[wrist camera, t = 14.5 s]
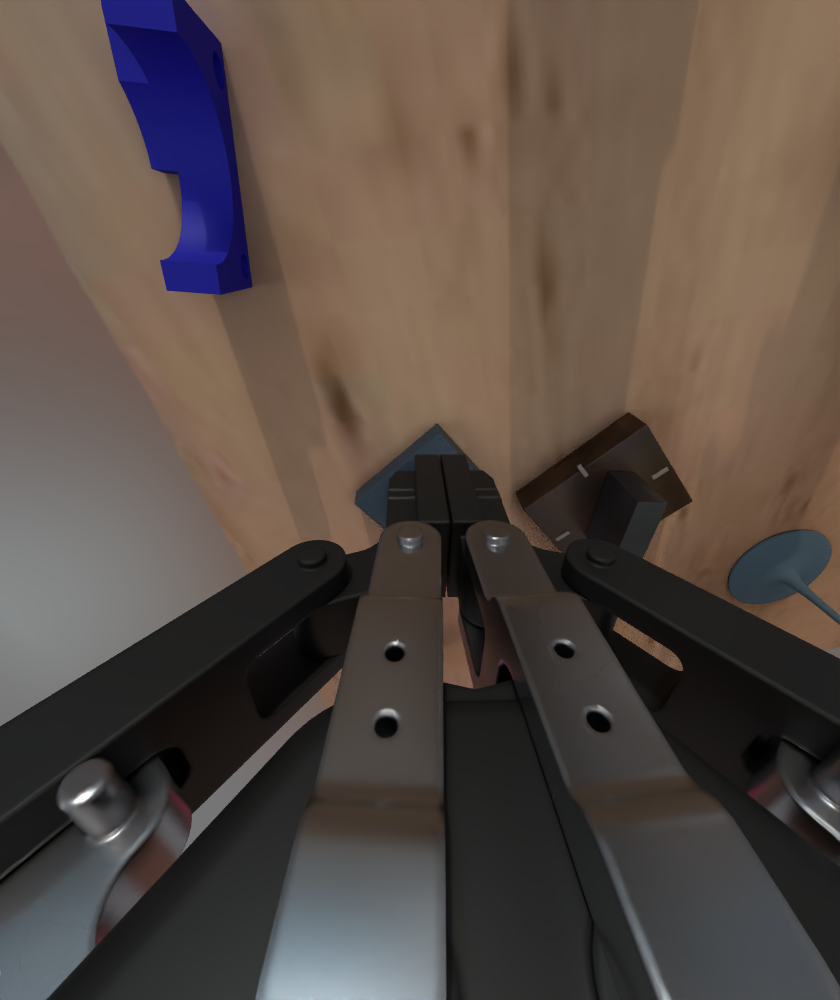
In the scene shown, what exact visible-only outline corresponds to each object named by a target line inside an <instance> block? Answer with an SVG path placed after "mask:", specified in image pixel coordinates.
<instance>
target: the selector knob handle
mask: <svg viewBox="0 0 840 1000" xmlns="http://www.w3.org/2000/svg"><path fill="white" fill-rule="evenodd" d="M667 504H668V502H667V501H666V500H665V499H663V498H662V497H661V496H660V495H659V494H658V493H657V492H656V491H655V490H654V489H653V488H652V487H650V486H649V485H648V484H647V483H646V482H645V481H644V480H643V479H642V478H641V477H640V476H639V475H637V474H636V473H635V472H616V471H609V472H608V474H607V477H606V480H605V483H604V486H603V489H602V491H601V494H600V497H599V500H598V503H597V506H596V508H595V511H594V514H593V517H592V520H591V523H590V525H589V528H588V531H587V534H586V538H587V539H598V540H602V541H606V542H609V543H612V544H614V545H616V546H618V547H620V548H622V549H624V550H626V551H628V552H630V553H632V554H634V555H636V556H638V557H640V558H643V556H644V554H645V552H646V550H647V548H648V545H649V543H650V541H651V539H652V537H653V535H654V532H655V530H656V528H657V526H658V524H659V522H660V519H661V517H662V515H663V513H664V511H665V509H666V506H667Z"/></svg>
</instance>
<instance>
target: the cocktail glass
mask: <svg viewBox="0 0 840 1000" xmlns="http://www.w3.org/2000/svg"><path fill="white" fill-rule="evenodd" d="M830 556H831V545H830V543H829V541H828V540H827V538H826V537H825V536H823V535H821V534H819V533H817V532H814V531H808V530H796V531H789V532H785V533H781V534H778V535H776V536H773V537H771V538H768V539H766V540H764V541H762V542H761V543H759V544H757V545H756V546H754V547H753V548H751V549H750V550H749V551H748V552H746V553H745V554H744V555H743V556H742V557H741V558H740V559H739V560H738V561H737V563H736V564H735V566H734V567H733V569H732V571H731V573H730V576H729V579H728V587H729V590H730V592H731V594H732V595H733V596H734V597H735V598H736V599H738V600H740V601H742V602H745V603H751V604H761V603H768V602H773V601H777V600H780V599H783V598H785V597H788V596H790V595H792V594H794V593H796V592H798V593H800V594H801V595H803V596H804V597H806V598H807V599H808V600H810V601H811V602H812V603H813V604H815V605H816V606H817V607H818V608H820V609H821V610H822V611H823V612H825V613H826V614H827V615H828V616H830V617H831V618H832V619H833V620H834V621H836V622H837V623H838V624H839V625H840V615H839V614H838V613H837V612H835V611H834V610H833V609H832V608H831V607H829V606H828V605H827V604H826V603H825V602H824V601H822V600H821V599H820V598H819V597H818V596H817V595H816V594H815V593H814V592H813V591H812V590H810V589H809V587H808V586H807V585H809V584H810V583H811V582H812V581H813V580H815V579H816V578H817V577H818V576H819V575H820V574H821V572H822V571H823V570H824V568H825V567H826V565H827V563H828V562H829V559H830Z"/></svg>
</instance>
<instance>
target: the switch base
mask: <svg viewBox="0 0 840 1000" xmlns="http://www.w3.org/2000/svg"><path fill="white" fill-rule="evenodd" d="M609 471H616V472H635V473H636V474H637V475H639V476H640V477H641V478H642V479H643V480H644V481H645V482H646V483H647V484H648V485H649V486H650V487H652V488H653V489H654V490H655V491H656V492H657V493H658V494H659V495H660V496H661V497H662V498H663V499H665V500H666V501H667V502H668V504H667V506H666V509H665V511H664V513H663V515H662V517H661V519H660V521H661V520H662V519H664V518H666V517H667V516H669V515H671V514H672V513H674V512H676V511H677V510H679V509H681V508H682V507H684V506H686V505H687V504H689V503H690V502H692V499H691V497H690V495H689V494H688V492H687V490H686V489H685V487H684V485H683V484H682V482H681V480H680V479H679V477H678V475H677V474H676V472H675V471H674V469H673V467H672V466H671V464H670V462H669V461H668V459H667V457H666V456H665V454H664V452H663V451H662V449H661V447H660V446H659V444H658V442H657V441H656V439H655V437H654V436H653V434H652V432H651V431H650V429H649V427H648V426H647V424H645V423H644V422H642V421H641V420H639V419H638V418H637V417H635V416H634V415H632V414H631V413H627V414H626V415H624V416H623V417H621V418H620V419H619V420H617V421H616V422H614V423H613V424H612V425H610V426H609V427H607V428H606V429H605V430H603V431H602V432H600V433H599V434H598V435H596V436H595V437H593V438H592V439H591V440H589V441H588V442H586V443H585V444H584V445H582V446H581V447H579V448H578V449H576V450H575V451H574V452H572V453H571V454H569V455H568V456H567V457H565V458H564V459H562V460H561V461H560V462H558V463H557V464H555V465H554V466H553V467H551V468H550V469H548V470H547V471H546V472H544V473H543V474H541V475H540V476H539V477H537V478H536V479H534V480H533V481H532V482H530V483H529V484H527V485H526V486H524V487H523V488H522V489H520V490H519V491H517V492H516V495H517V497H518V499H519V501H520V503H521V506H522V508H523V510H524V511H525V512H526V513H527V514H528V515H529V516H530V517H531V519H532V520H533V521H534V522H535V523H536V524H537V525H538V526H539V527H540V529H541V530H542V531H543V532H544V533H545V534H546V535H547V536H548V537H549V539H550V540H551V541H552V542H553V543H554V544H555V545H556V546H557V547H558V549H559V550H560V551H561V552H562V553H564V554H565V553H566V549H567V547H568V545H569V544H570V543H572V542H574V541H576V540H579V539H587V538H586V534H587V531H588V528H589V525H590V523H591V520H592V517H593V514H594V511H595V508H596V506H597V503H598V500H599V497H600V494H601V491H602V489H603V486H604V483H605V480H606V477H607V474H608V472H609Z"/></svg>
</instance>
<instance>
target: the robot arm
mask: <svg viewBox="0 0 840 1000" xmlns="http://www.w3.org/2000/svg"><path fill="white" fill-rule="evenodd" d="M446 586H447V595H448V597H458V599H459V616H458V624H459V628H460V633H461V637H462V641H463V645H464V649H465V654H466V658H467V662H468V666H469V671H470V675H471V679H472V683H473V688H474V689H471V688H466V687H462V686H457V685H453V684H448V683H443V599H442V598H441V597H445V592H446ZM617 617H619V618H620V619H622V620H623V621H625V622H627V623H628V624H630V625H631V626H633V627H635V628H636V629H638V630H639V631H641V632H643V633H644V634H646V635H647V636H649V637H651V638H652V639H654V640H655V641H657V642H659V643H660V644H662V645H663V646H665V647H667V648H668V649H670V650H671V651H672V652H673V653H674V654H675V655H676V656H677V657H678V658H679V659H680V661H681V663H682V666H683V671H678V670H675V669H672V668H670V667H669V666H667V665H666V664H664V663H663V662H661V661H659V660H658V659H656V658H655V657H653V656H652V655H650V654H649V653H647V652H646V651H644V650H643V649H641V648H640V647H638V646H637V645H635V644H633V643H632V642H630V641H629V640H627V639H626V638H624V637H623V636H621V635H620V634H618V633H617V632H615V631H614V630H613V627H614V625H615V622H616V620H617ZM292 629H293V630H292ZM291 630H292V631H291ZM290 631H291V632H290ZM287 633H288V634H287ZM286 634H287V635H286ZM285 635H286V636H285ZM283 636H284V637H283ZM282 637H283V638H282ZM281 638H282V639H281ZM278 640H279V641H278ZM277 641H278V642H277ZM276 642H277V643H276ZM275 643H276V644H275ZM273 644H274V645H273ZM272 645H273V646H272ZM271 646H272V647H271ZM268 648H269V649H268ZM267 649H268V650H267ZM266 650H267V651H266ZM264 651H265V652H264ZM263 652H264V653H263ZM262 653H263V654H262ZM258 656H259V657H258ZM257 657H258V658H257ZM342 667H343V668H342ZM341 668H342V673H341V677H340V681H339V685H338V690H337V694H336V698H335V702H334V705H333V706H331V707H329V708H328V709H326V710H324V711H322V712H321V713H319V714H318V715H316V716H315V717H313V718H312V719H311V720H309V721H308V722H307V723H306V724H305V725H303V726H302V727H301V728H300V729H299V730H298V731H296V732H295V733H294V735H292V736H291V737H290V738H289V740H288V741H287V742H286V743H285V744H284V745H283V746H282V747H281V748H280V749H279V750H278V751H277V752H276V754H275V755H274V756H273V757H272V758H271V759H270V760H269V761H268V762H267V763H266V764H265V765H264V766H263V768H262V769H261V770H260V771H259V772H258V773H257V774H256V775H255V776H254V777H253V778H252V779H251V780H250V781H249V783H248V784H247V785H246V786H245V787H244V788H243V789H242V790H241V791H240V792H239V793H238V795H236V797H235V798H234V799H233V800H232V801H231V802H230V803H229V804H228V805H227V806H226V807H225V808H224V809H223V810H222V812H221V813H220V814H219V815H218V816H217V817H216V818H215V819H214V820H213V821H212V822H211V823H210V825H208V827H207V828H206V829H205V830H204V831H203V832H202V833H201V834H200V835H199V836H198V837H197V838H196V839H195V841H194V842H193V843H192V844H191V845H190V846H189V847H188V848H187V849H186V850H185V851H184V852H183V853H182V851H183V849H184V847H185V845H186V842H187V840H188V837H189V833H190V829H191V822H192V814H193V812H195V811H196V810H197V809H198V808H199V807H200V806H201V805H202V804H203V803H204V802H205V801H206V800H207V799H208V798H209V797H210V796H211V795H212V794H213V793H214V792H215V791H216V790H217V789H218V788H219V787H220V786H221V785H222V784H223V783H224V782H225V781H226V780H227V779H229V778H230V777H231V776H232V774H234V773H235V772H236V771H237V770H238V769H239V768H240V767H241V766H242V765H243V764H244V763H245V762H246V761H247V760H248V759H249V758H250V757H251V756H252V755H253V754H254V753H255V752H256V751H257V750H258V749H259V748H260V747H261V746H262V745H263V744H264V743H265V742H267V741H268V740H269V739H270V738H271V737H272V736H273V734H275V733H276V732H277V731H278V730H279V729H280V728H281V727H282V726H283V725H284V724H285V723H286V722H287V721H288V720H289V719H290V718H291V717H292V716H293V715H294V714H295V713H296V712H297V711H298V710H299V709H300V708H301V707H302V706H303V705H304V704H305V703H307V702H308V701H309V700H310V699H311V698H312V697H313V696H314V695H315V694H316V693H317V692H318V691H319V690H320V689H321V688H322V687H323V686H324V685H325V684H326V683H327V682H328V681H329V680H330V679H331V678H332V677H333V676H334V675H335V674H336V673H337V672H338V671H339V670H340V669H341ZM181 853H182V855H181ZM0 1000H840V659H839V658H837V657H835V656H833V655H831V654H829V653H827V652H825V651H823V650H821V649H819V648H817V647H815V646H813V645H811V644H810V643H808V642H806V641H804V640H802V639H800V638H798V637H796V636H794V635H792V634H790V633H788V632H786V631H784V630H782V629H780V628H778V627H776V626H774V625H772V624H770V623H768V622H766V621H764V620H762V619H760V618H758V617H756V616H754V615H752V614H750V613H748V612H746V611H744V610H742V609H740V608H738V607H737V606H735V605H733V604H731V603H729V602H727V601H725V600H723V599H721V598H719V597H717V596H715V595H713V594H711V593H709V592H707V591H705V590H703V589H701V588H699V587H697V586H695V585H693V584H691V583H689V582H687V581H685V580H683V579H681V578H679V577H677V576H675V575H673V574H671V573H669V572H667V571H666V570H664V569H662V568H660V567H658V566H656V565H654V564H652V563H650V562H648V561H646V560H644V559H642V558H640V557H638V556H636V555H634V554H632V553H630V552H628V551H626V550H624V549H622V548H620V547H618V546H616V545H614V544H612V543H609V542H606V541H602V540H598V539H579V540H576V541H574V542H572V543H570V544H569V545H568V547H567V549H566V553H565V554H564V553H559V552H554V551H549V550H544V549H540V548H537V547H534V546H532V545H531V544H530V542H529V540H528V539H527V537H526V535H525V534H524V533H523V532H522V531H521V530H520V529H519V528H518V527H516V526H514V525H512V524H510V522H509V519H508V517H507V514H506V512H505V509H504V506H503V504H502V501H501V499H500V496H499V493H498V491H497V488H496V485H495V483H494V480H493V478H491V477H490V476H489V475H488V474H487V473H485V472H484V471H483V470H470V469H469V466H468V462H467V459H466V456H465V454H441V455H440V458H439V454H415V457H414V471H396V472H395V473H394V475H393V476H392V477H391V478H390V479H389V491H388V504H387V517H386V529H385V530H384V531H383V532H382V533H381V535H380V538H379V542H378V543H377V544H375V545H374V546H372V547H370V548H368V549H366V550H363V551H359V552H355V553H351V554H347V555H346V554H345V551H344V550H343V548H342V547H341V546H339V545H338V544H336V543H333V542H330V541H325V540H312V541H307V542H303V543H300V544H297V545H295V546H293V547H291V548H290V549H288V550H286V551H285V552H283V553H282V554H280V555H278V556H277V557H275V558H273V559H272V560H270V561H269V562H267V563H265V564H264V565H262V566H260V567H259V568H257V569H256V570H254V571H252V572H251V573H249V574H247V575H246V576H244V577H243V578H241V579H239V580H238V581H236V582H234V583H233V584H231V585H230V586H228V587H226V588H225V589H223V590H221V591H220V592H218V593H217V594H215V595H213V596H212V597H210V598H208V599H207V600H205V601H204V602H202V603H200V604H199V605H197V606H195V607H194V608H192V609H190V610H189V611H187V612H186V613H184V614H182V615H181V616H179V617H178V618H176V619H174V620H173V621H171V622H169V623H168V624H166V625H165V626H163V627H161V628H160V629H158V630H156V631H155V632H153V633H151V634H150V635H148V636H147V637H145V638H143V639H142V640H140V641H138V642H137V643H135V644H134V645H132V646H130V647H129V648H127V649H126V650H124V651H122V652H121V653H119V654H117V655H116V656H114V657H113V658H111V659H109V660H108V661H106V662H104V663H103V664H101V665H99V666H98V667H96V668H95V669H93V670H91V671H90V672H88V673H86V674H85V675H83V676H82V677H80V678H78V679H77V680H75V681H73V682H72V683H70V684H68V685H67V686H65V687H64V688H62V689H60V690H59V691H57V692H55V693H54V694H52V695H51V696H49V697H48V698H46V699H44V700H43V701H41V702H39V703H38V704H36V705H34V706H33V707H31V708H30V709H28V710H26V711H25V712H23V713H21V714H20V715H18V716H16V717H15V718H13V719H12V720H10V721H8V722H7V723H5V724H3V725H2V726H0Z"/></svg>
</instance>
